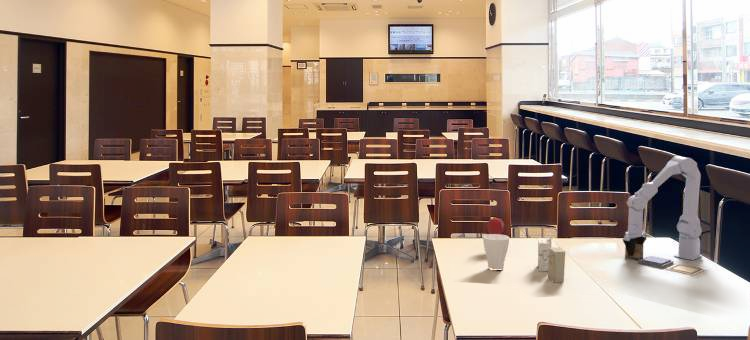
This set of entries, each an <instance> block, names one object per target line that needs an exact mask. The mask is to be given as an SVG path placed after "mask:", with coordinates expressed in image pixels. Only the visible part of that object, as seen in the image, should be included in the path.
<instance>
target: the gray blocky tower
mask: <svg viewBox="0 0 750 340" xmlns="http://www.w3.org/2000/svg"><path fill="white" fill-rule="evenodd" d="M548 234H549V238H538V239H537V240H538V241H537V249H538V250H537V255H538V258H537V267H539V268H538V272H547V271H548V262H549V248H552V234H551V232H550V231H549V233H548Z"/></svg>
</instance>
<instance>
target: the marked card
mask: <svg viewBox="0 0 750 340" xmlns="http://www.w3.org/2000/svg"><path fill="white" fill-rule="evenodd" d="M665 271H671V272H676V273H679V274H680V273H681V274H685V275H691V276H696V275H698V274H700V273H702V272H704V271H706V268H701V267H697V266H691V265H686V264H681V263H676V264H672V265H670V266H668V267H666V269H665Z"/></svg>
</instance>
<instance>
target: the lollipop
mask: <svg viewBox="0 0 750 340" xmlns="http://www.w3.org/2000/svg"><path fill="white" fill-rule="evenodd" d="M486 227H487V231H488V232H489V234H501V235H502V233H503V232H504V231H505V223H504V221H503V220H502V219H501V218H498V217H493V218H490V219H489V220H488V222H487V224H486Z"/></svg>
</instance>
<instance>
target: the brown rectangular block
mask: <svg viewBox="0 0 750 340" xmlns="http://www.w3.org/2000/svg"><path fill="white" fill-rule="evenodd" d="M624 246H625V245H624ZM624 258H626V259H630V260H636V261H639V260H642V259H644V244H643V245H640V244H636V246H635V249H634V255H633V256H628V254H627V249H626V246H625V251H624Z"/></svg>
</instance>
